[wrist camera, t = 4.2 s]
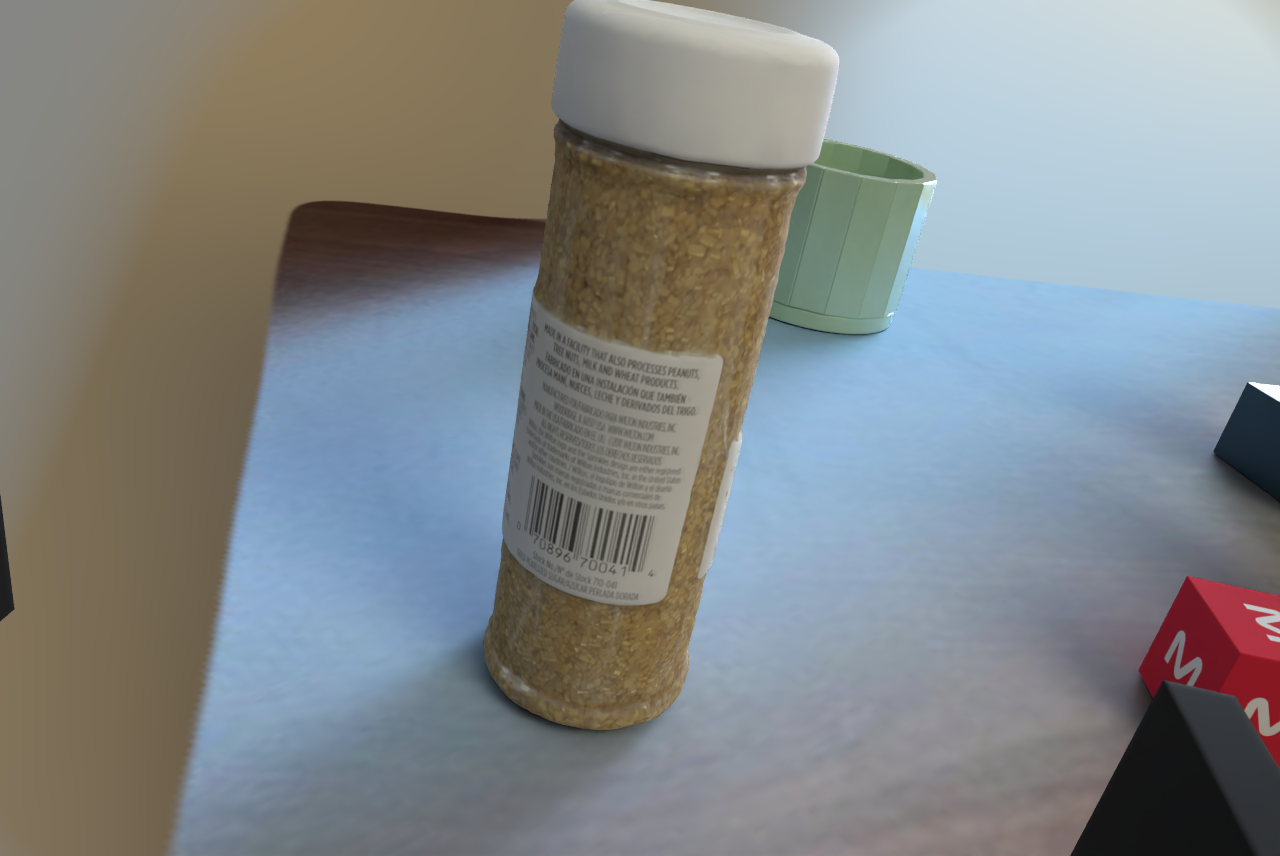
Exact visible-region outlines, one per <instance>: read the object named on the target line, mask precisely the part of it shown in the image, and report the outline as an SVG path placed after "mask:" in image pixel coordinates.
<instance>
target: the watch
mask: <svg viewBox="0 0 1280 856" xmlns="http://www.w3.org/2000/svg"><path fill="white" fill-rule="evenodd" d="M1213 452H1214V453H1216V454H1217V455H1218V456H1220V457H1221V458H1222V459H1224V460H1225V461H1226V462H1228V463H1229V464H1230V465H1232V466H1233V467H1234V468H1236V469H1237V470H1238V471H1240V472H1241V473H1242V474H1244V475H1245V476H1247V477H1248V478H1249V479H1251V480H1252V481H1253V482H1255V483H1256V484H1257V485H1259V486H1260V487H1261V488H1263V489H1264V490H1265V491H1267V492H1268V493H1269V494H1271V495H1272V496H1273V497H1275V498H1276V499H1277V500H1279V501H1280V386H1276V385H1267V384H1259V383H1250V382H1248V383H1247V385H1246V387H1245V389H1244V391H1243V393H1242V395H1241V397H1240V399H1239V401H1238V403H1237V405H1236V407H1235V409H1234V411H1233V413H1232V415H1231V417H1230V419H1229V421H1228V423H1227V425H1226V427H1225V429H1224V431H1223V433H1222V435H1221V437H1220V439H1219V441H1218V443H1217V445H1216V447H1215V449H1214V451H1213Z"/></svg>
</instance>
